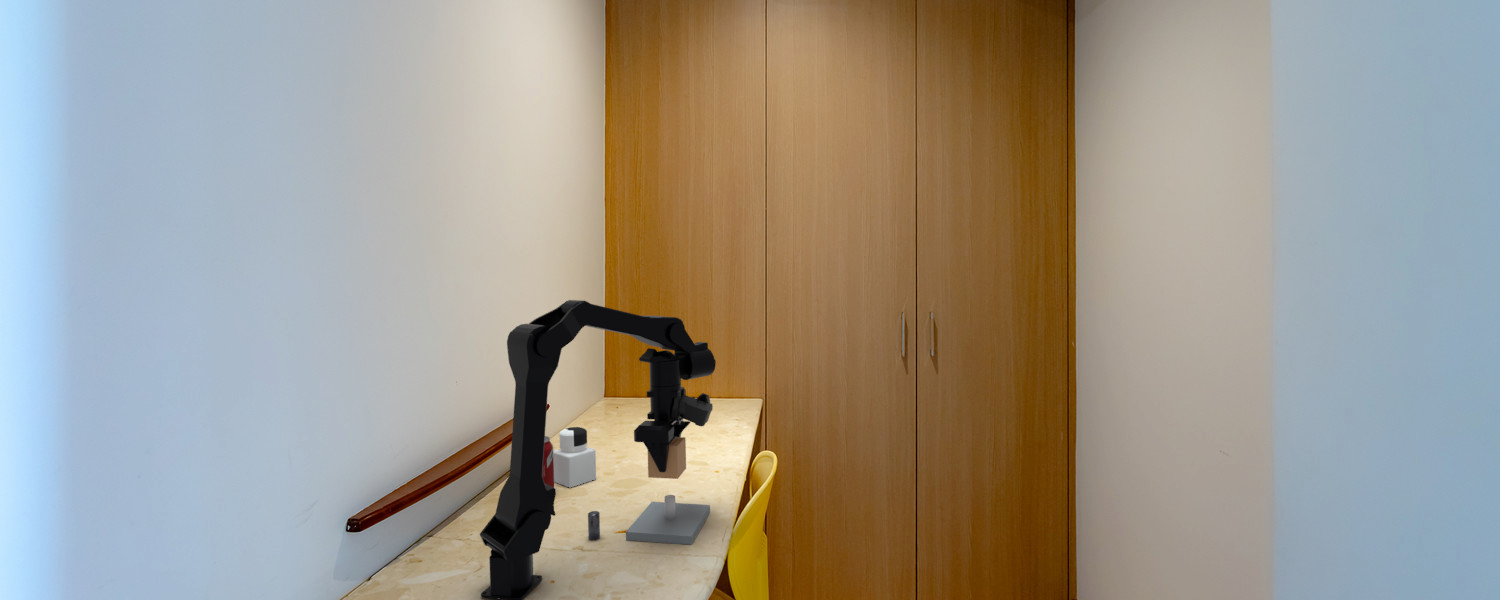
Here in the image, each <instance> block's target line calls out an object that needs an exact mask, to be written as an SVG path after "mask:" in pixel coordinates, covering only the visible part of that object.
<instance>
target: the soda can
mask: <svg viewBox="0 0 1500 600" xmlns="http://www.w3.org/2000/svg"><path fill="white" fill-rule="evenodd" d="M550 440H551V438H550V437H549V436H546V435H545V442H544V457H543V473H542V475H543V480H544V483H545V484H547V485H549V486H551V487H553V488H555V482H554V459H553V451H554V445H553V443H552V442H551V441H550Z"/></svg>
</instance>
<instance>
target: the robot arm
mask: <svg viewBox="0 0 1500 600" xmlns="http://www.w3.org/2000/svg"><path fill="white" fill-rule="evenodd" d="M584 327H588V328H595V329H599V330H604V331H608V332H613V333H617V334H618V333H619V334H622V335H628V336H630V337H633V338H634V339H636V340H637V341H639V342H641V343H643V344H646V345H648V346H651V347H654V348H650V347H648V348H646V350H645V352H644V353H642V355H641V356H640V357H639V358H638V360H639V361H638V362H642V363H648V364H649V389H648V390H646V398H649V399H650V401H649V402H650V411H649V412H648V413H646V414H647V415H646V417H647V420H644V421H643V422H642V423H640V424H639V425H638V426H637V427H636V428H634V429H633V441H634V442H636V443H643V444H644V446H645V447H646V449H647V452H648V451H649V453H650V454H651V456H652V458H653V460H654V462H655V464H656V466H657V468H658V470H659V472H665V471H666V467H667V460H668V452H669V445H670V443H671V442H672V441H673V440H674V439H675V438H676V437H682V433H683V431H684V430H685V429H686V428H687V427H689V425H690V424H691V423H693V424H694V425H695V426H697V427H704V426H705V425H706V423H708V421H709V419H710V416H711V413H712V412H713V407H714V406H713V403H711V400H710V395H709V394H706V393H704V392H702V393H701V394H700V395H699V396H698V397H695V396H689V395H687V391H686V388H685V386H682V380H683V381H689V380H693V379H697V378H703V377H707V376H708V377H709V376H712V374H713V373H714V372H715V369H716V364H717V363H716V359H715V356H714V354H713V351H712V350H711V349H710V348H709V345H708V344H709V343H708V342H706V341H697V342H694V341H693V340H692V338H691V337H690V335H689V334H688V332H687V329H686V327H685V324H684V321H683V320H682V319H681V318H679V317H675V316H660V315H639V314H635V313H631V312H628V311H623V310H619V309H614V308H611V307H607V306H601V305H598V304H593V303H591V302H588V301H586V300H577V299H569V300H566V301H565V302H563V303H561V304H560V305H559V306H558V307H556V308H554V309H552V310H550V311H548V312H546V313H544V314H543V315H540V316H538V317H536V318H534V319H533V320H531V321H530V322H529V323H522V324H521V323H520V324H519V325H517V326H515V328H514V329H513V330H511V331H509V333H508V336H507V340H506V348H507V358H508V364H509V366H510V370H511V373H512V376H513V379H514V382H515V388H514V389H515V391H514V403H513V416H512V417H513V418H512V419H513V420H512V432H511V433H512V435H511V436H512V437H511V450H510V463H509V464H510V465H509V466H510V467H509V474H508V477H507V480H506V481H505V483H504V485H503V487H502V488H501V490H500V493H499V497H498V500H497V505H496V506H497V507H496V510H495V513H494V515H493V516H492V517H491V518H490V520H489V521H488V523H487V524H486V525H485V527H484V528H483V529H482V530H481V531H480V533H479V536H480V538H481V541H482V543H483V545H484V546H487V547H489V548H490V549H491V550H490V556H489V559H488V560H489V586H487V588H485V590H483V591H482V592H481V593H480V598H482V597H491V598H500V599H499V600H502V599H510V600H524V598H525V597H526V596H527V595H528V594H529V593H530V592H531V591H532V590H533V589H534V588H535V587H536V586H537V585H538V584H539V583H540V582H541V581H542V580H543V576H542V575H540V574H538V575H537V574H534V557H533V556H534V554H537V553H539V552H540V549H541V547H542V546H541V545H542V543H543V538H544V535H545V532H546V530H549V528H550V526H551V521H552V516H554V517H555V516H556V512H555V499H556V488H555V487H554V488H553V487H551V486H549V485H547V484H545V483H544V480H543V475H542V473H543V457H544V442H545V436H546V424H547V421H546V420H547V407H548V394H549V392H548V391H549V385H550V384H549V383H550V381H551V380H552V378H553V376H554V375H555V372H556V371H557V369H558V366H559V362H560V359H561V354H562V350H563V348H564V347H566V346H567V345H569V344H570V343H571V342H572V341H574V340H575V338H576V337H577V336H578V334H579V333H580V331H581V330H582V329H583V328H584ZM655 347H656V348H660V349H662V350H659V351H658V350H657V349H655ZM672 351H674V353H673V352H672ZM491 598H490V599H491Z"/></svg>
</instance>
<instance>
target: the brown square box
mask: <svg viewBox="0 0 1500 600" xmlns="http://www.w3.org/2000/svg"><path fill="white" fill-rule="evenodd" d="M686 441H687V440H686V437H685V436H681V437H676V438H675V439H674V440H673V441H672V442H671V443H670V445H669V452H668V460H667V467H666V471H665V472H659V470H658V468H657V466H656V464H655V462H654V460H653V458H652V456H651V454H650V453H649V451H648V450H647V475H648V478H653V479H675V480H679V478H680V477H681V476H682V475H683V473H684V472H685V470H686V469H687V451H686V450H687V448H686V447H687V446H686V445H687V444H686V443H687V442H686Z"/></svg>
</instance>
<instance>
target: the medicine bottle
mask: <svg viewBox="0 0 1500 600" xmlns="http://www.w3.org/2000/svg"><path fill="white" fill-rule="evenodd" d="M558 438H559V449H555V450H554V449H553V459H554V483H556V484H558V485H561V486H563V485H564V486H563V487H566V488H568V487H569V489H572V488H575V487H577V485H578V486H580V484H581V485H583V483H584V484H586V482H587V483H590V482H593V481H595V480H597V463H596V460H597V458H596V457H597V456H596V454H597V452H596V449H595V448H592V447H588V430H587V429H586V428H584V427H579V426H572V427H566V428H564V429H562V430H560V432H559V437H558ZM592 480H593V481H592ZM574 486H575V487H574ZM571 487H572V488H571Z"/></svg>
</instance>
